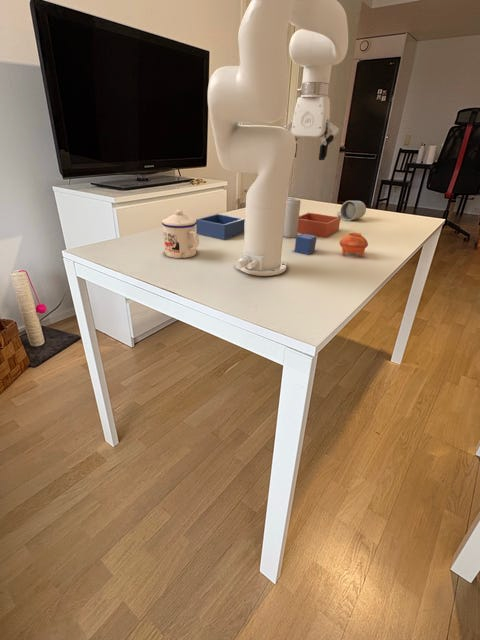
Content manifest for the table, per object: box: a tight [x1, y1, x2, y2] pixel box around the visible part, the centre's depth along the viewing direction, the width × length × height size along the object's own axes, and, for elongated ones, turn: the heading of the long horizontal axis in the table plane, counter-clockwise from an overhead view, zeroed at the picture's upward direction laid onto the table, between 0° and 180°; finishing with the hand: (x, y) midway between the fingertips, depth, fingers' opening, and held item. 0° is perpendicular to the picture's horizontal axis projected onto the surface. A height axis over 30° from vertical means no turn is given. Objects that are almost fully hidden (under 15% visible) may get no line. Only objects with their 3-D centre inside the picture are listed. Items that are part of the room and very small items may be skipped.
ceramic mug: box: [337, 200, 367, 222], centre depth 141 cm, size 11×8×8 cm
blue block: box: [294, 233, 318, 255], centre depth 100 cm, size 4×4×4 cm
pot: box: [339, 232, 369, 258], centre depth 99 cm, size 8×8×7 cm
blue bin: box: [195, 213, 245, 241], centre depth 115 cm, size 12×12×5 cm
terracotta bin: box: [297, 212, 342, 239], centre depth 122 cm, size 13×13×5 cm
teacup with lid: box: [161, 209, 200, 259], centre depth 92 cm, size 12×9×12 cm
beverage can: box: [283, 197, 301, 239], centre depth 112 cm, size 5×5×12 cm
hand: (306, 158), depth 105 cm, fingers open, 9 cm apart
